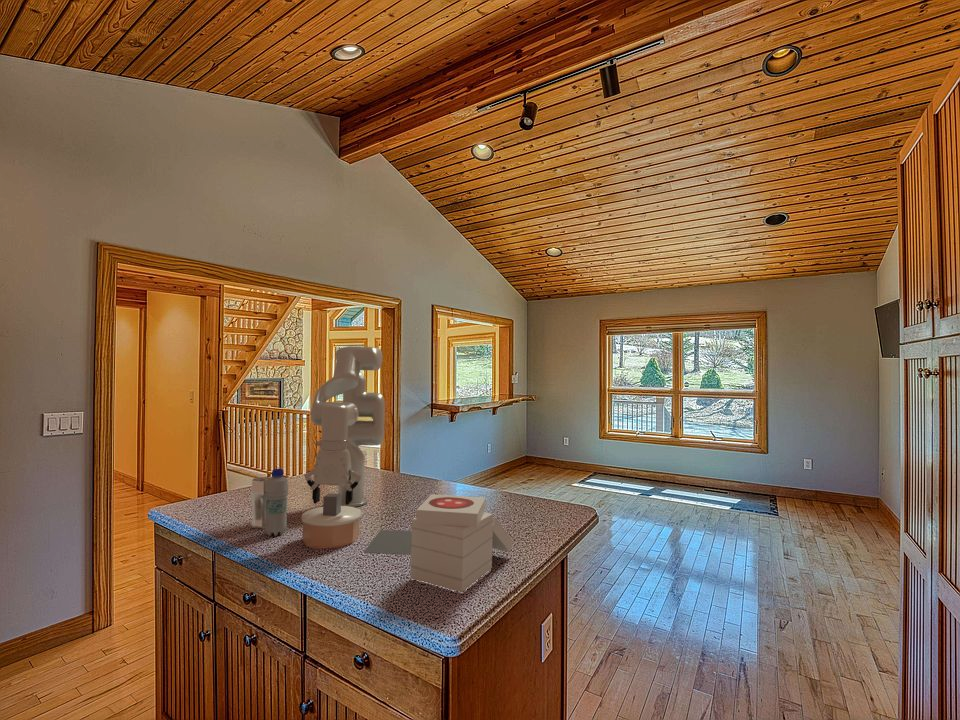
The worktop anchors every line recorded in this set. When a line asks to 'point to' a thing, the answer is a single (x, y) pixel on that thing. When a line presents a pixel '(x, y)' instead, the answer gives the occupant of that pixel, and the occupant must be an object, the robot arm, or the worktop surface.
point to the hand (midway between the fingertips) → (332, 502)
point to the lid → (331, 513)
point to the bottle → (276, 503)
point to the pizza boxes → (454, 541)
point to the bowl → (330, 535)
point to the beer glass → (258, 501)
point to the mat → (391, 542)
